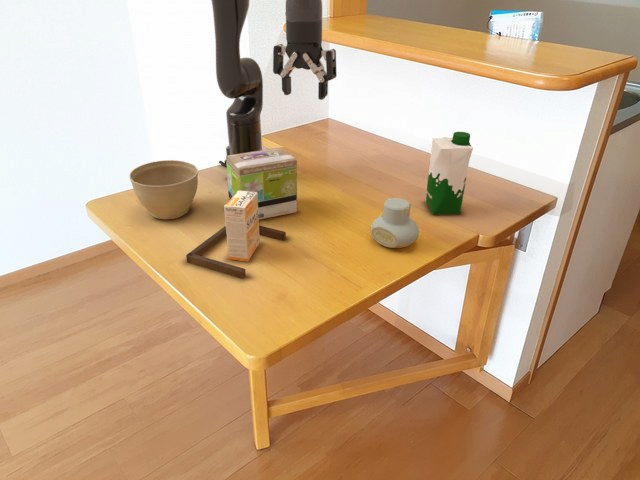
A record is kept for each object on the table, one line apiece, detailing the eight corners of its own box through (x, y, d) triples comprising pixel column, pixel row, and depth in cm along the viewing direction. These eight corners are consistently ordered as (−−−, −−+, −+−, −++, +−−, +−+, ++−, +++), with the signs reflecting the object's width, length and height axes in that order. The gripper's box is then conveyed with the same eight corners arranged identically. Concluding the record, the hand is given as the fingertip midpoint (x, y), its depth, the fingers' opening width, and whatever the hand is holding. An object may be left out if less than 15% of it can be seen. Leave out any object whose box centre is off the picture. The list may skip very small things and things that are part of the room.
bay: (186, 262, 110) (185, 255, 109) (234, 225, 124) (234, 218, 124) (242, 279, 105) (242, 271, 104) (286, 238, 119) (285, 231, 118)
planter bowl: (160, 233, 121) (153, 191, 115) (124, 212, 130) (116, 172, 124) (215, 211, 131) (211, 171, 125) (178, 192, 140) (173, 155, 135)
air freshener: (364, 240, 119) (366, 201, 114) (384, 227, 124) (387, 190, 119) (403, 257, 113) (407, 217, 108) (423, 243, 118) (428, 204, 113)
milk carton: (464, 215, 130) (477, 140, 120) (430, 216, 129) (440, 141, 119) (454, 200, 138) (465, 128, 127) (421, 201, 137) (429, 128, 127)
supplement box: (249, 262, 110) (245, 208, 104) (228, 259, 111) (222, 205, 104) (261, 243, 117) (258, 191, 111) (241, 241, 118) (237, 189, 111)
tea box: (242, 225, 124) (238, 168, 117) (229, 208, 132) (224, 154, 125) (298, 212, 130) (297, 158, 123) (282, 197, 138) (280, 145, 131)
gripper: (342, 17, 106) (340, 96, 114) (282, 13, 111) (284, 89, 119) (327, 22, 100) (326, 104, 108) (264, 17, 105) (268, 96, 113)
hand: (304, 96), depth 114 cm, fingers open, 8 cm apart
